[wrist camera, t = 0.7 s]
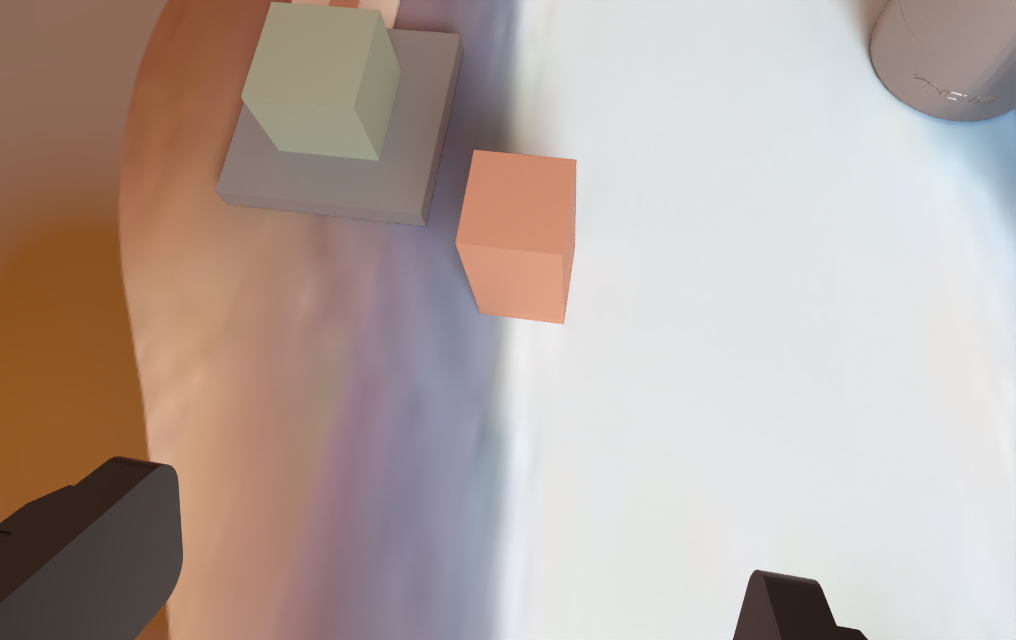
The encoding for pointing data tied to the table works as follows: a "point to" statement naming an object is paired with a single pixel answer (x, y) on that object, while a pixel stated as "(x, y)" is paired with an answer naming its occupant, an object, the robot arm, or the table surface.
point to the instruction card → (363, 7)
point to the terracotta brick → (519, 234)
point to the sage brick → (323, 80)
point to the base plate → (349, 181)
